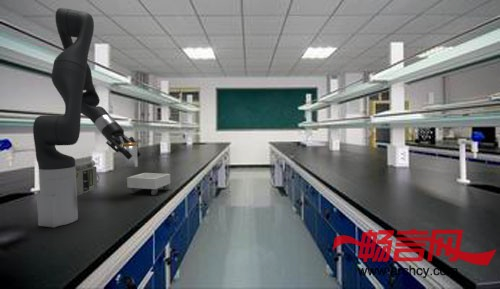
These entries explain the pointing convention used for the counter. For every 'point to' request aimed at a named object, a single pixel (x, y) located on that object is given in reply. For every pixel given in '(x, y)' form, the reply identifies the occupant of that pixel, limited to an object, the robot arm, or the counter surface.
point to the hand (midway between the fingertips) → (134, 156)
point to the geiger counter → (86, 177)
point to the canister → (133, 151)
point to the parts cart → (148, 182)
